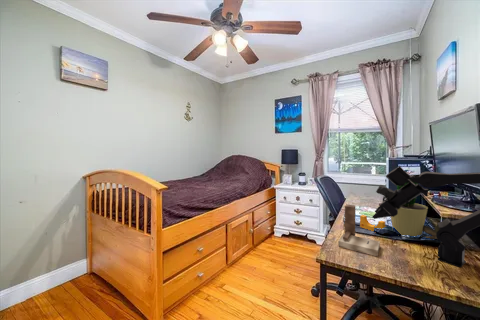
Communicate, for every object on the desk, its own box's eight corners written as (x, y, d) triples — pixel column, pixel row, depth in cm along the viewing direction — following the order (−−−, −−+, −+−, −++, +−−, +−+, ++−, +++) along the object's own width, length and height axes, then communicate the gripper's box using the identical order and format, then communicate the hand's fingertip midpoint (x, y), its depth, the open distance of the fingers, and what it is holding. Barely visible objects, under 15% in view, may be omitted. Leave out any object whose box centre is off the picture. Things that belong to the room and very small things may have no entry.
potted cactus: (397, 239, 100) (398, 177, 98) (383, 227, 115) (383, 173, 113) (435, 241, 97) (437, 177, 95) (415, 228, 112) (416, 173, 110)
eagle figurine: (442, 236, 99) (418, 229, 104) (448, 228, 95) (422, 220, 100) (442, 250, 95) (417, 242, 100) (448, 241, 90) (421, 233, 96)
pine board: (379, 246, 93) (379, 241, 93) (377, 256, 85) (377, 250, 85) (343, 238, 103) (343, 233, 102) (338, 246, 95) (338, 240, 95)
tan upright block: (355, 237, 103) (355, 205, 102) (350, 247, 93) (350, 212, 92) (346, 235, 105) (346, 204, 104) (340, 244, 96) (340, 210, 95)
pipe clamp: (387, 233, 107) (387, 221, 107) (381, 235, 106) (382, 222, 105) (365, 225, 118) (365, 214, 118) (360, 227, 117) (360, 215, 116)
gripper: (390, 177, 98) (363, 197, 106) (387, 183, 84) (356, 205, 92) (411, 195, 94) (381, 214, 102) (412, 205, 80) (377, 227, 87)
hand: (374, 214), depth 96 cm, fingers open, 9 cm apart
